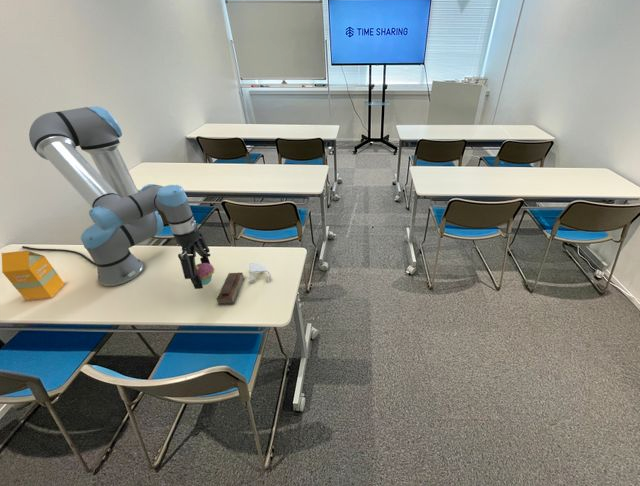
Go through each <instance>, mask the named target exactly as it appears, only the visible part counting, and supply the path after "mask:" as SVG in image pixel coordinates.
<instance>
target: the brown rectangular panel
mask: <svg viewBox="0 0 640 486" xmlns="http://www.w3.org/2000/svg"><path fill="white" fill-rule="evenodd" d="M244 280H245V277H244V273H243V272H228V274H227V276H226V277H225V280H224V282H223V285H222V286H221V289H220V290H219V292H218V295H217V297H216V301H217V304H218V305H219V306H223V305H225V306H226V305H234V304H235V302H236V299H237V298H238V294H239V293H240V290H241V287H242V284H243V282H244Z"/></svg>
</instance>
